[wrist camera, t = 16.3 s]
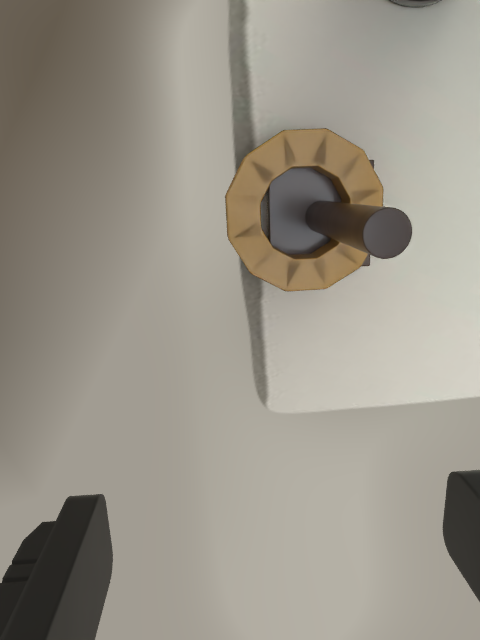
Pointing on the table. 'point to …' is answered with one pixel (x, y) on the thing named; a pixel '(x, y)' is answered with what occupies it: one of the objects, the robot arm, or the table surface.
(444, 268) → the table surface
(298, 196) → the stand
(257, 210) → the ring
